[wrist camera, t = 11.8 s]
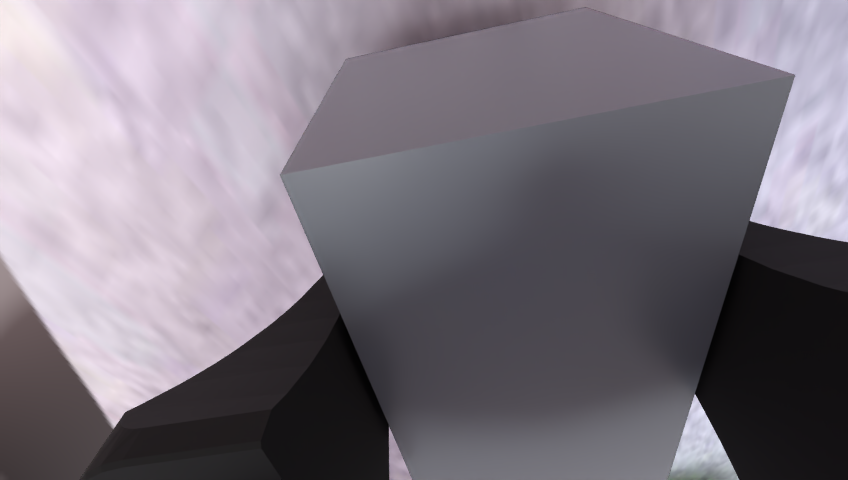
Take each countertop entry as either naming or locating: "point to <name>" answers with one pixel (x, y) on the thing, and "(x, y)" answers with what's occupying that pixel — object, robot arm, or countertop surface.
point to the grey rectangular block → (536, 236)
